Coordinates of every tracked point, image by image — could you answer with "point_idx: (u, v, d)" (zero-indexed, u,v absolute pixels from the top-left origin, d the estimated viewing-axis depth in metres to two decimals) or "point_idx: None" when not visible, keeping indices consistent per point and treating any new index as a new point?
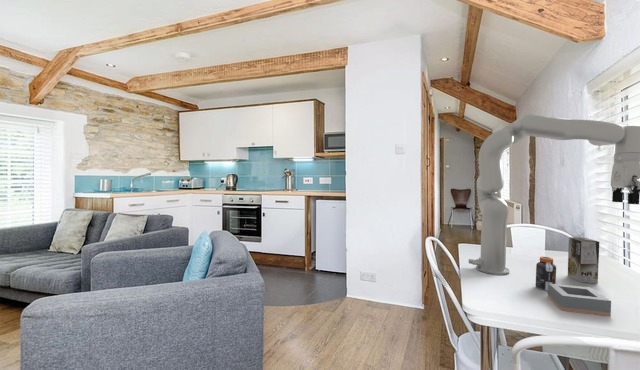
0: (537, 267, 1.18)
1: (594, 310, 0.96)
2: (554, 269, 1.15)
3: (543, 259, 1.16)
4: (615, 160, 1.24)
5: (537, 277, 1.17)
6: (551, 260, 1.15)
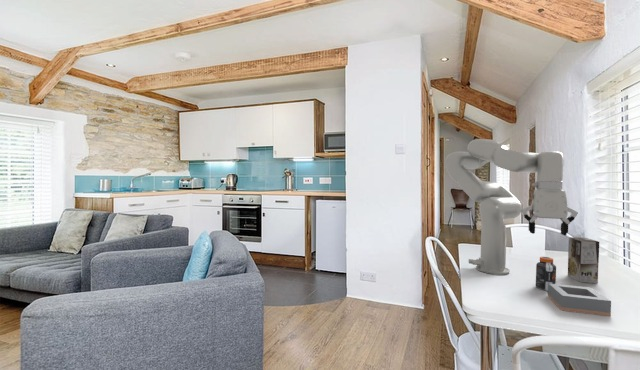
0: (537, 267, 1.18)
1: (594, 310, 0.96)
2: (554, 269, 1.15)
3: (543, 259, 1.16)
4: (553, 189, 1.13)
5: (537, 277, 1.17)
6: (551, 260, 1.15)
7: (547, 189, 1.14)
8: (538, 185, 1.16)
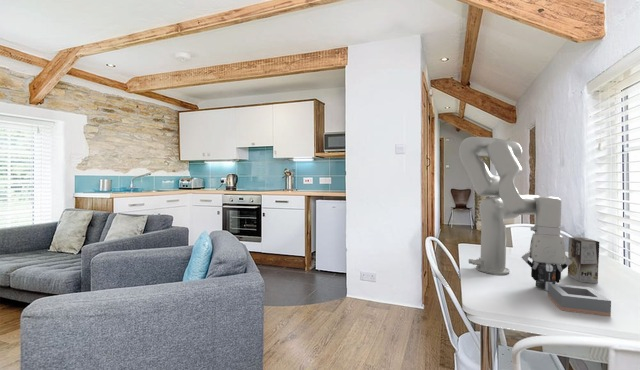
0: (537, 267, 1.18)
1: (594, 310, 0.96)
2: (554, 269, 1.15)
3: None
4: (551, 235, 1.13)
5: None
6: None
7: (545, 235, 1.14)
8: (536, 230, 1.17)
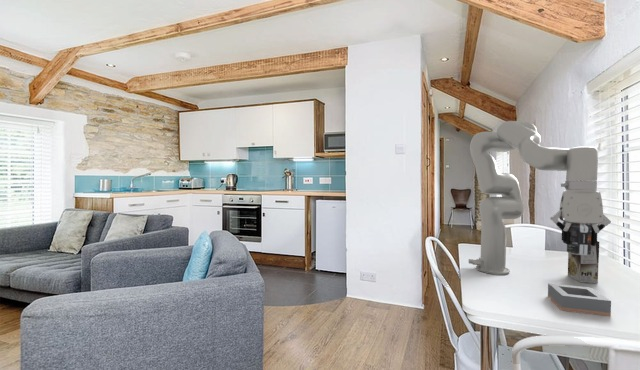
0: (569, 229, 1.02)
1: (594, 310, 0.96)
2: (590, 230, 0.99)
3: None
4: (587, 190, 0.98)
5: None
6: None
7: (579, 190, 0.98)
8: (568, 185, 1.01)
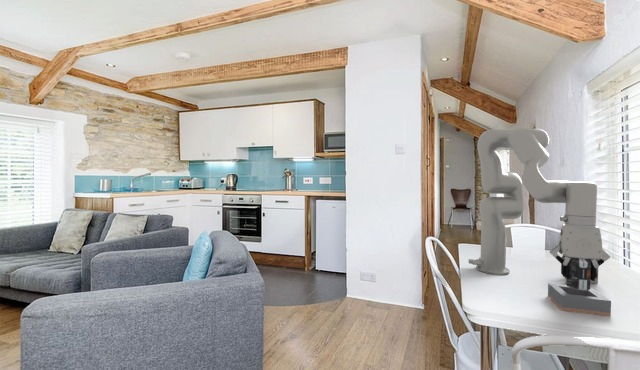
0: (568, 263, 1.02)
1: (594, 310, 0.96)
2: (589, 265, 0.99)
3: None
4: (586, 225, 0.98)
5: None
6: None
7: (578, 225, 0.98)
8: (567, 220, 1.01)
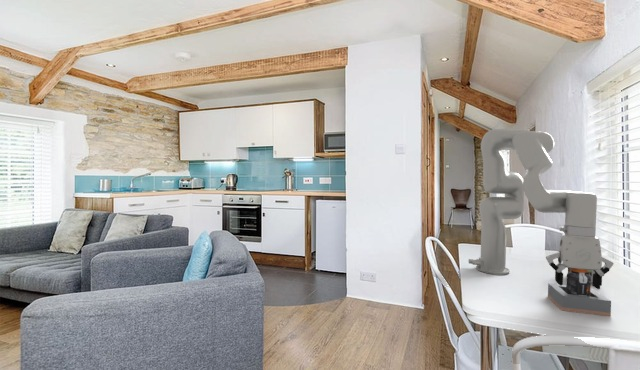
0: (568, 278, 1.02)
1: (594, 310, 0.96)
2: (589, 280, 0.99)
3: (575, 269, 1.01)
4: (585, 236, 0.98)
5: (568, 289, 1.02)
6: (585, 270, 1.00)
7: (578, 236, 0.99)
8: (567, 230, 1.01)
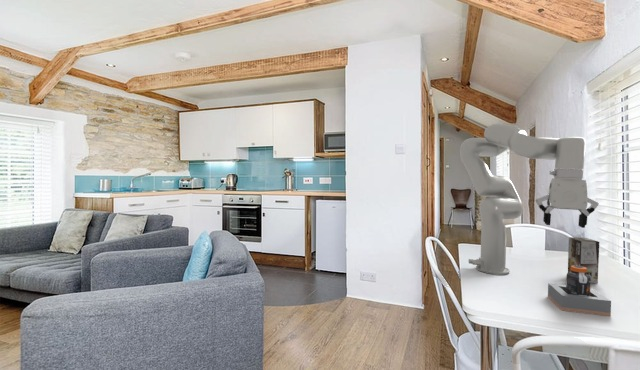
0: (568, 278, 1.02)
1: (594, 310, 0.96)
2: (589, 280, 0.99)
3: (575, 268, 1.01)
4: (573, 177, 1.04)
5: (568, 289, 1.02)
6: (585, 270, 1.00)
7: (566, 178, 1.05)
8: (556, 173, 1.07)
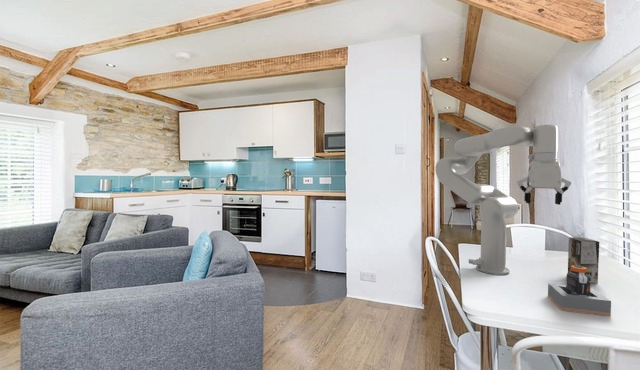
0: (568, 278, 1.02)
1: (594, 310, 0.96)
2: (589, 280, 0.99)
3: (575, 268, 1.01)
4: (548, 160, 1.18)
5: (568, 289, 1.02)
6: (585, 270, 1.00)
7: (542, 160, 1.19)
8: (533, 157, 1.22)
